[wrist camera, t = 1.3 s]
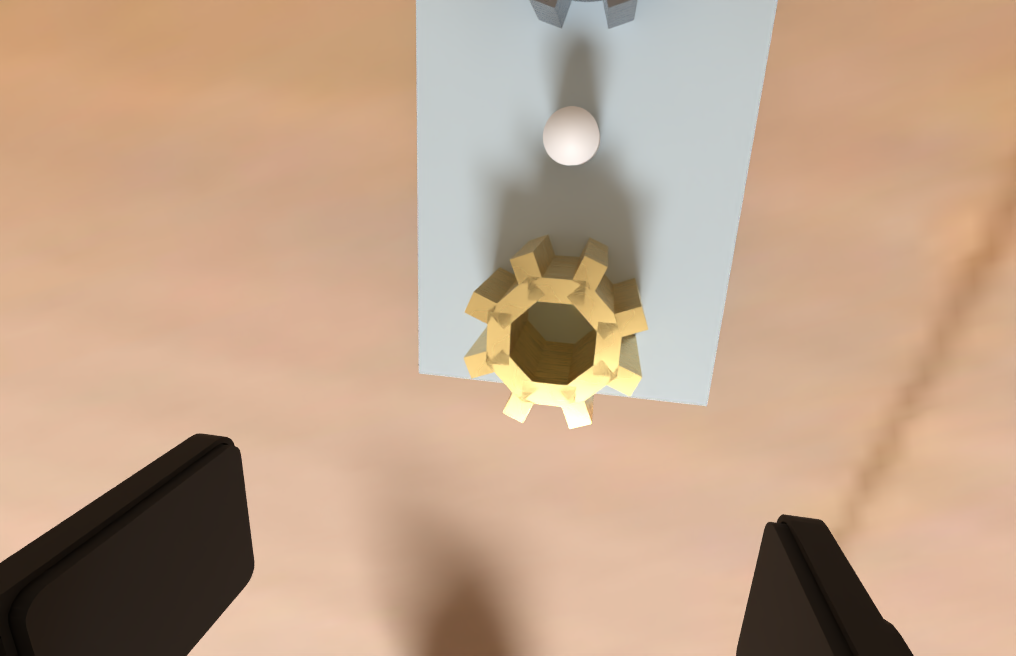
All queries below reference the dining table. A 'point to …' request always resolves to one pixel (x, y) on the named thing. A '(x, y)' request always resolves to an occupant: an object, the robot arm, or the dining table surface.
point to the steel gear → (555, 3)
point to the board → (587, 166)
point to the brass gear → (555, 365)
